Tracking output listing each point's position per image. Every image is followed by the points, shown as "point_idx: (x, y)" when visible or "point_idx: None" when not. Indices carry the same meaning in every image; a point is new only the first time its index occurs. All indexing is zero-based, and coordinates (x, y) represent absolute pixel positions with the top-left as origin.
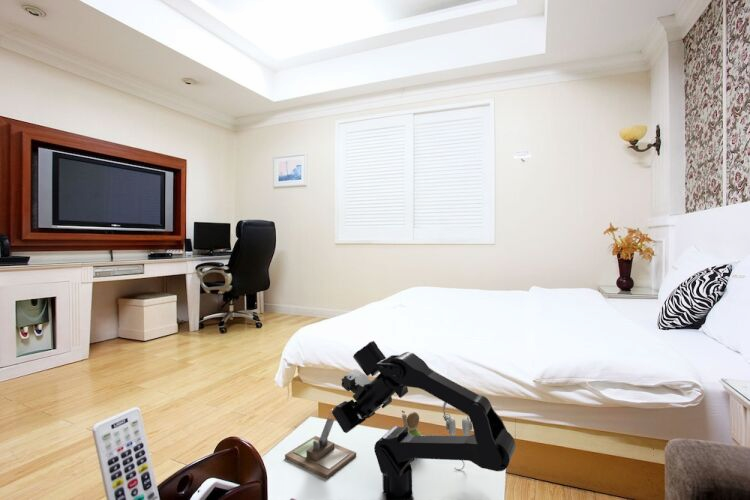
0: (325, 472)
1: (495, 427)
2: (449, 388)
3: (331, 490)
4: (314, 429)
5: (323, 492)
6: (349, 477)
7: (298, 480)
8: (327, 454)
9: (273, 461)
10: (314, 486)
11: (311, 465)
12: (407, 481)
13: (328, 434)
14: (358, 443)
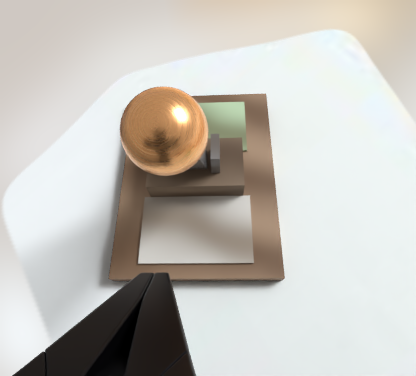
0: (118, 263)
1: None
2: None
3: None
4: (301, 65)
5: (49, 321)
6: None
7: (68, 208)
8: (203, 197)
9: (110, 94)
10: (64, 271)
11: (127, 196)
12: None
13: (200, 164)
14: (351, 231)
